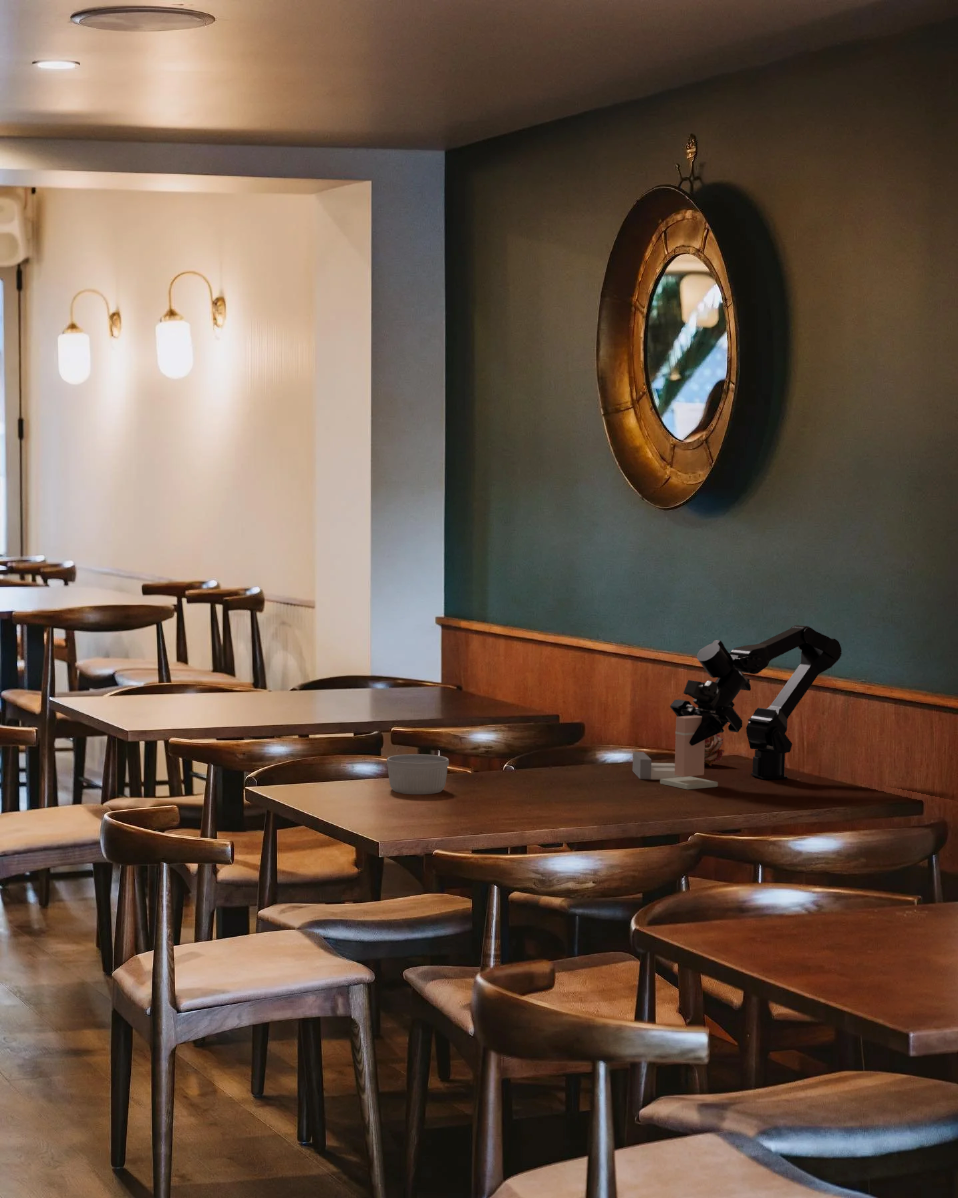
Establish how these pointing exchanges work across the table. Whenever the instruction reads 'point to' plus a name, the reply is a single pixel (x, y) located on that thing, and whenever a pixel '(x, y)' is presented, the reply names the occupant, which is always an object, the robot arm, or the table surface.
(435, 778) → the ramekin
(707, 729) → the robot arm
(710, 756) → the flower
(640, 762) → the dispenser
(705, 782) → the pad
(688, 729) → the banded beige post
